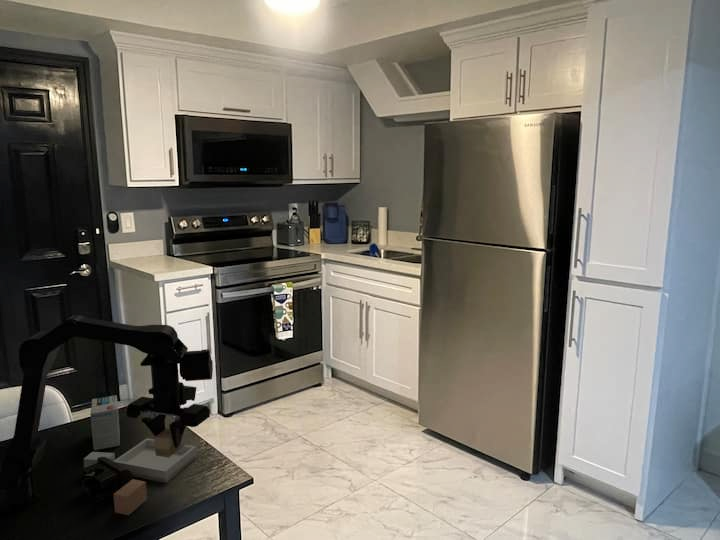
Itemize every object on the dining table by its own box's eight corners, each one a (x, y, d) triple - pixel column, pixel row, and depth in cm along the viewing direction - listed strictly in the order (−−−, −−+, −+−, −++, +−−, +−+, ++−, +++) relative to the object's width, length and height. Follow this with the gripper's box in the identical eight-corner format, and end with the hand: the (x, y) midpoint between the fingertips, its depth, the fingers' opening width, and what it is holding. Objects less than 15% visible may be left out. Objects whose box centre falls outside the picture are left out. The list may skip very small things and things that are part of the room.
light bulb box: (94, 434, 151) (90, 398, 149) (120, 429, 153) (117, 394, 152) (93, 451, 141) (89, 413, 139) (120, 445, 144) (117, 408, 142)
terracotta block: (128, 515, 114) (126, 496, 113) (115, 512, 115) (113, 494, 114) (147, 499, 120) (145, 481, 119) (134, 497, 121) (132, 479, 120)
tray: (166, 482, 126) (165, 471, 125) (114, 472, 131) (112, 461, 130) (196, 457, 138) (196, 446, 137) (147, 448, 142) (147, 438, 142)
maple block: (168, 457, 118) (167, 439, 118) (155, 455, 119) (154, 437, 119) (185, 445, 124) (183, 427, 123) (172, 442, 125) (171, 425, 124)
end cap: (134, 491, 123) (132, 465, 122) (105, 506, 117) (102, 479, 116) (112, 477, 129) (109, 452, 127) (82, 491, 123) (80, 464, 122)
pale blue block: (116, 469, 132) (114, 453, 131) (107, 477, 129) (106, 460, 128) (94, 468, 133) (92, 451, 132) (85, 475, 130) (83, 459, 129)
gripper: (221, 373, 124) (224, 435, 126) (154, 365, 129) (159, 425, 132) (192, 391, 113) (197, 458, 116) (121, 382, 119) (127, 446, 121)
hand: (170, 445), depth 121 cm, fingers closed on maple block, 3 cm apart
